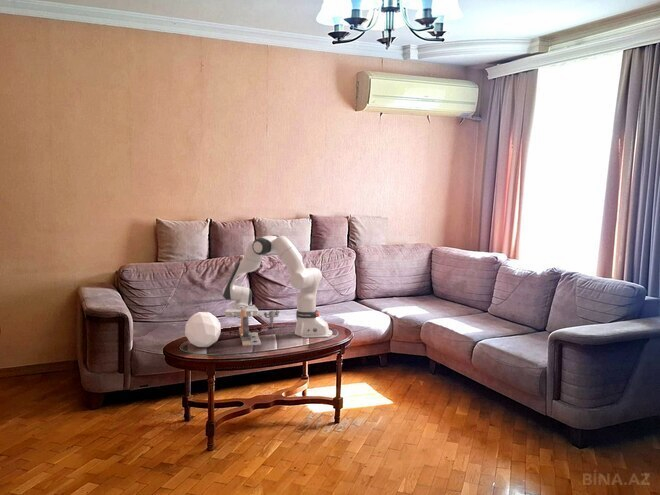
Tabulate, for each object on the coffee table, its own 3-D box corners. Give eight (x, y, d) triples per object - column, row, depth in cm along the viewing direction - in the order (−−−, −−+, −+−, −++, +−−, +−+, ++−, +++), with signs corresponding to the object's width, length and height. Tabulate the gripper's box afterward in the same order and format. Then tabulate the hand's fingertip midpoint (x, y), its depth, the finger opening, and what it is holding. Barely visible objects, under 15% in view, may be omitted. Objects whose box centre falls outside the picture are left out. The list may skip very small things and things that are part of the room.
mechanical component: (263, 327, 362) (263, 311, 361) (277, 325, 368) (277, 309, 367) (265, 328, 359) (265, 312, 358) (279, 326, 365) (279, 310, 364)
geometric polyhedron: (195, 360, 319) (172, 334, 312) (207, 338, 336) (185, 313, 330) (222, 346, 312) (198, 319, 305) (232, 325, 329) (210, 299, 323)
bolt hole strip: (246, 334, 346) (246, 332, 346) (257, 334, 347) (256, 331, 347) (250, 345, 323) (250, 343, 323) (260, 344, 325) (260, 342, 325)
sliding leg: (239, 331, 343) (238, 309, 341) (247, 330, 344) (247, 308, 343) (239, 333, 338) (239, 311, 337) (248, 332, 339) (248, 310, 338)
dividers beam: (239, 335, 345) (238, 309, 343) (247, 334, 346) (247, 308, 344) (241, 345, 322) (241, 318, 321) (251, 345, 324) (250, 317, 322)
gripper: (223, 306, 362) (224, 311, 348) (257, 304, 366) (259, 309, 353) (224, 316, 363) (225, 321, 349) (257, 314, 367) (259, 319, 353)
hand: (242, 315), depth 351 cm, fingers open, 8 cm apart
